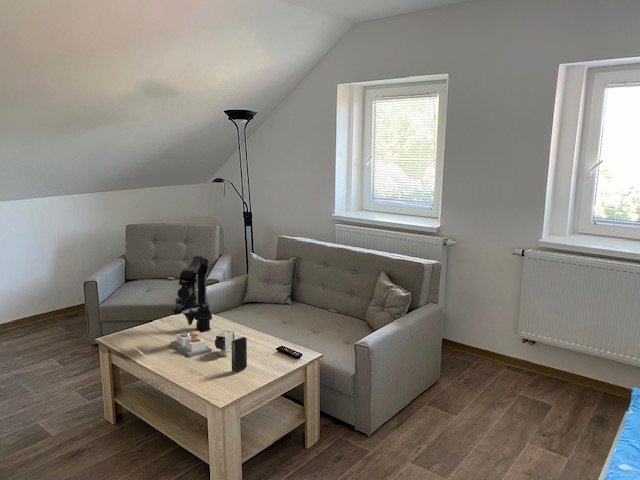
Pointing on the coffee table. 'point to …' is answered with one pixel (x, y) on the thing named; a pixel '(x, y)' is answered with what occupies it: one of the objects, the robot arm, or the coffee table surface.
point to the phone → (239, 354)
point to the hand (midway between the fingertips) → (189, 324)
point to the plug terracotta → (194, 336)
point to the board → (190, 346)
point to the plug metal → (185, 334)
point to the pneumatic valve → (224, 342)
